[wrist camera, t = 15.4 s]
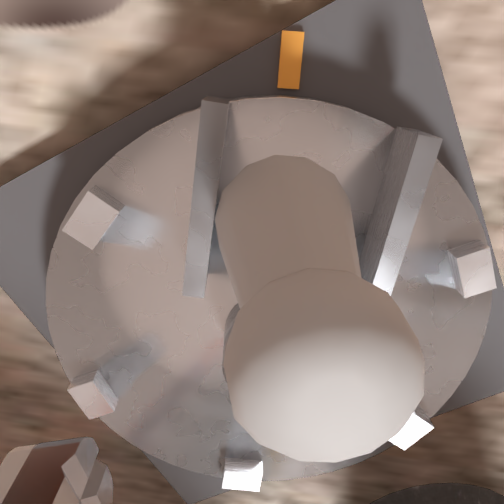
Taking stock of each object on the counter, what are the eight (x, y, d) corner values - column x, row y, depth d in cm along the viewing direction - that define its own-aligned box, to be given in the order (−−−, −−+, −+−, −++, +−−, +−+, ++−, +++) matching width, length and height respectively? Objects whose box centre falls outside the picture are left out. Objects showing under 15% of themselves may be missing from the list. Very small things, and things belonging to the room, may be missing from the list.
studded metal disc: (544, 136, 21) (629, 156, 16) (402, 469, 31) (430, 541, 26) (52, 55, 19) (-8, 52, 14) (66, 438, 29) (32, 509, 24)
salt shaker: (278, 281, 22) (320, 543, 10) (193, 209, 20) (120, 420, 8) (364, 202, 20) (539, 402, 8) (279, 116, 18) (346, 211, 6)
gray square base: (521, 371, 29) (533, 385, 27) (189, 493, 33) (187, 509, 32) (401, -36, 19) (412, -43, 18) (-46, 212, 23) (-62, 220, 22)
